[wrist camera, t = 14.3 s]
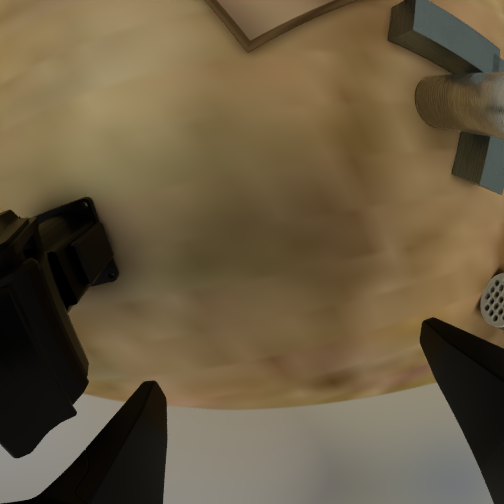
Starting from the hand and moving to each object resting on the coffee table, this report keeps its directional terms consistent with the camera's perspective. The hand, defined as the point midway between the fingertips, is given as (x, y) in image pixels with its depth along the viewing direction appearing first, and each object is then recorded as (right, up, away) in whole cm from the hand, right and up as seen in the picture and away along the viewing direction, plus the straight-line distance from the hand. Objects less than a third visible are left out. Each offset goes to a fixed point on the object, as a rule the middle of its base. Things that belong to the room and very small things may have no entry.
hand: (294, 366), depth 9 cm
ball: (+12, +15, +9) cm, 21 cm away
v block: (+15, +16, +8) cm, 23 cm away
